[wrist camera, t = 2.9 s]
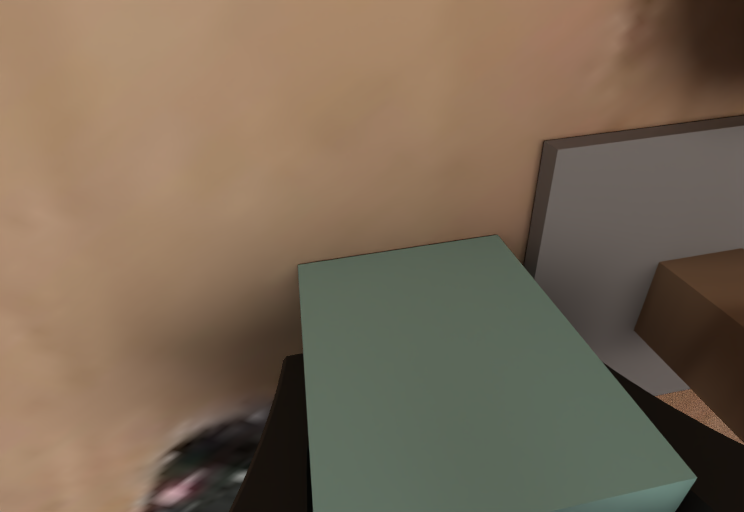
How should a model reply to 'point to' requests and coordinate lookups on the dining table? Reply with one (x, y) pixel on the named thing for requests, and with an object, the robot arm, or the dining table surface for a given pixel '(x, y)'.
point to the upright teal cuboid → (466, 393)
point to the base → (632, 227)
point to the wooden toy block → (701, 328)
